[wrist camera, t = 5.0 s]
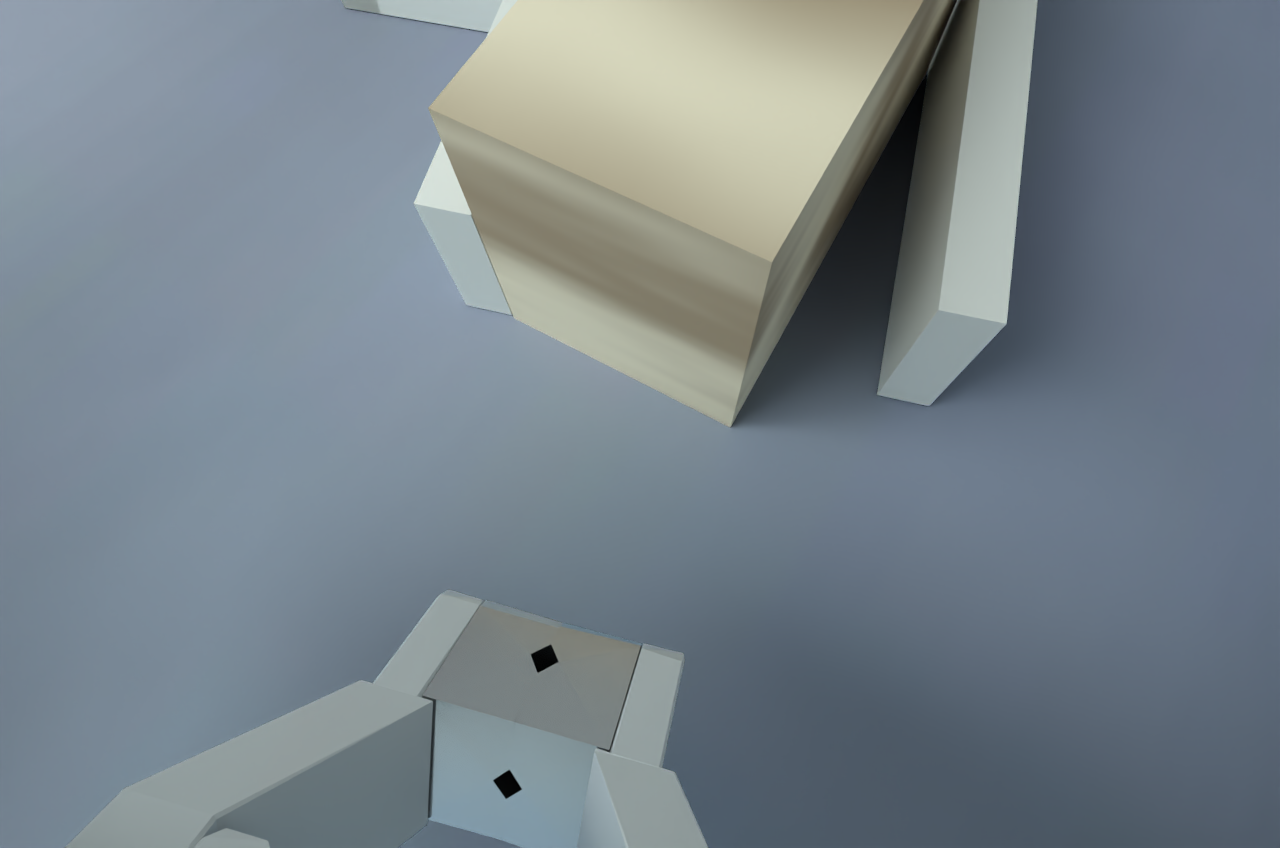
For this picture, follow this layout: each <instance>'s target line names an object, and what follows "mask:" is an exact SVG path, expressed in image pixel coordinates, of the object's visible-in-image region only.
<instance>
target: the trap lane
mask: <svg viewBox="0 0 1280 848" xmlns="http://www.w3.org/2000/svg"><path fill="white" fill-rule="evenodd" d="M516 2H517V0H342V3H343V5H344V7H345V8H349V9H355V10H361V11H367V12H373V13H378V14H384V15H390V16H396V17H402V18H408V19H414V20H420V21H425V22H431V23H437V24H443V25H449V26H455V27H461V28H466V29H472V30H478V31H484V32H489V33H488V35H489V34H490V33H491V32H492V31H493V29H494V28H495V27H496V26H497V25H498V23H499V22H500V21H501V20H502V19H503V17H504V16H505V15H506V14H507V12H508V11H509V10H510V9H511V8H512V6H513V5H514V4H515V3H516ZM1037 2H1038V0H957V2H956V4H955V6H954V9H953V11H952V14H951V16H950V18H949V21H948V23H947V25H946V28H945V30H944V32H943V35H942V37H941V39H940V42H939V44H938V47H937V49H936V51H935V54H934V56H933V58H932V61H931V63H930V65H929V69H928V76H927V82H926V88H925V95H924V101H923V107H922V114H921V120H920V126H919V133H918V139H917V145H916V151H915V158H914V164H913V170H912V177H911V183H910V189H909V196H908V202H907V208H906V215H905V221H904V227H903V233H902V240H901V246H900V252H899V259H898V265H897V271H896V278H895V284H894V290H893V296H892V303H891V309H890V315H889V322H888V328H887V334H886V341H885V347H884V353H883V360H882V366H881V372H880V378H879V385H878V391H877V395H880V396H884V397H889V398H893V399H898V400H902V401H907V402H912V403H916V404H921V405H925V406H930V405H931V404H932V403H933V402H934V401H935V399H936V398H937V397H938V396H939V395H940V394H941V393H942V392H943V391H944V390H945V389H946V388H947V387H948V386H949V385H950V384H951V382H952V381H953V380H954V379H955V378H956V377H957V376H958V375H959V374H960V373H961V372H962V371H963V370H964V369H965V368H966V367H967V365H968V364H969V363H970V362H971V361H972V360H973V359H974V358H975V357H976V356H977V355H978V354H979V353H980V352H981V351H982V350H983V348H984V347H985V346H986V345H987V344H988V343H989V342H990V341H991V340H992V339H993V338H994V337H995V336H996V335H997V334H998V333H999V331H1000V330H1001V329H1002V328H1003V327H1004V326H1005V325H1006V324H1007V315H1008V305H1009V294H1010V284H1011V273H1012V263H1013V253H1014V242H1015V232H1016V221H1017V211H1018V200H1019V190H1020V179H1021V169H1022V159H1023V148H1024V138H1025V127H1026V117H1027V106H1028V96H1029V86H1030V75H1031V65H1032V54H1033V44H1034V33H1035V23H1036V12H1037ZM488 35H487V37H488ZM487 37H486V38H487ZM414 205H415V207H416V209H417V211H418V213H419V215H420V217H421V219H422V221H423V223H424V224H425V226H426V228H427V230H428V232H429V234H430V236H431V238H432V240H433V242H434V244H435V246H436V248H437V249H438V251H439V253H440V255H441V257H442V259H443V261H444V263H445V265H446V267H447V269H448V271H449V273H450V274H451V276H452V278H453V280H454V282H455V284H456V286H457V288H458V290H459V292H460V294H461V296H462V298H463V300H464V301H465V303H466V305H468V306H472V307H477V308H481V309H486V310H491V311H495V312H500V313H504V314H509V315H512V312H511V309H510V307H509V304H508V302H507V299H506V297H505V294H504V292H503V290H502V287H501V285H500V282H499V280H498V277H497V275H496V272H495V270H494V268H493V265H492V263H491V260H490V258H489V255H488V253H487V250H486V248H485V246H484V243H483V241H482V238H481V236H480V233H479V231H478V228H477V226H476V224H475V221H474V219H473V216H472V214H471V211H470V209H469V206H468V204H467V202H466V199H465V197H464V194H463V192H462V189H461V187H460V184H459V182H458V180H457V177H456V175H455V172H454V170H453V167H452V165H451V162H450V160H449V158H448V155H447V153H446V150H445V148H444V145H443V143H442V140H441V142H440V145H439V147H438V149H437V152H436V154H435V156H434V158H433V161H432V163H431V165H430V168H429V170H428V172H427V174H426V177H425V179H424V181H423V184H422V186H421V188H420V190H419V193H418V195H417V197H416V200H415V202H414Z"/></svg>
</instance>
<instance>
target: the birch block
mask: <svg viewBox="0 0 1280 848" xmlns="http://www.w3.org/2000/svg"><path fill="white" fill-rule="evenodd" d="M956 2H957V0H517V2H516V3H515V4H514V5H513V6H512V8H511V9H510V10H509V11H508V12H507V14H506V15H505V16H504V17H503V19H502V20H501V21H500V22H499V23H498V25H497V26H496V27H495V28H494V29H493V31H492V32H491V33H490V34H489V35H488V37H487V38H486V39H485V40H484V41H483V43H482V44H481V45H480V46H479V48H478V49H477V50H476V51H475V52H474V54H473V55H472V56H471V57H470V58H469V60H468V61H467V62H466V63H465V64H464V66H463V67H462V68H461V69H460V70H459V72H458V73H457V74H456V75H455V76H454V78H453V79H452V80H451V81H450V83H449V84H448V85H447V86H446V87H445V89H444V90H443V91H442V92H441V93H440V95H439V96H438V97H437V98H436V99H435V101H434V102H433V103H432V104H431V105H430V107H429V108H428V109H429V111H430V114H431V116H432V118H433V121H434V123H435V126H436V128H437V131H438V133H439V136H440V138H441V140H442V143H443V145H444V148H445V150H446V153H447V155H448V158H449V160H450V162H451V165H452V167H453V170H454V172H455V175H456V177H457V180H458V182H459V184H460V187H461V189H462V192H463V194H464V197H465V199H466V202H467V204H468V206H469V209H470V211H471V214H472V216H473V219H474V221H475V224H476V226H477V228H478V231H479V233H480V236H481V238H482V241H483V243H484V246H485V248H486V250H487V253H488V255H489V258H490V260H491V263H492V265H493V268H494V270H495V272H496V275H497V277H498V280H499V282H500V285H501V287H502V290H503V292H504V294H505V297H506V299H507V302H508V304H509V307H510V309H511V312H512V314H513V316H514V318H515V319H517V320H519V321H521V322H523V323H525V324H527V325H528V326H530V327H532V328H534V329H536V330H538V331H540V332H542V333H544V334H546V335H548V336H550V337H552V338H554V339H556V340H558V341H560V342H562V343H564V344H566V345H568V346H570V347H572V348H574V349H576V350H578V351H580V352H582V353H584V354H586V355H588V356H590V357H592V358H594V359H596V360H598V361H600V362H602V363H604V364H606V365H608V366H610V367H612V368H614V369H615V370H617V371H619V372H621V373H623V374H625V375H627V376H629V377H631V378H633V379H635V380H637V381H639V382H641V383H643V384H645V385H647V386H649V387H651V388H653V389H655V390H657V391H659V392H661V393H663V394H665V395H667V396H669V397H671V398H673V399H675V400H677V401H679V402H681V403H683V404H685V405H687V406H689V407H691V408H693V409H695V410H697V411H699V412H701V413H703V414H704V415H706V416H708V417H710V418H712V419H714V420H716V421H718V422H720V423H722V424H724V425H726V426H728V427H730V428H731V426H732V424H733V422H734V420H735V419H736V417H737V415H738V413H739V411H740V410H741V408H742V406H743V404H744V402H745V400H746V399H747V397H748V395H749V393H750V391H751V390H752V388H753V386H754V384H755V382H756V381H757V379H758V377H759V375H760V373H761V372H762V370H763V368H764V366H765V364H766V362H767V361H768V359H769V357H770V355H771V353H772V352H773V350H774V348H775V346H776V344H777V343H778V341H779V339H780V337H781V335H782V334H783V332H784V330H785V328H786V326H787V324H788V323H789V321H790V319H791V317H792V315H793V314H794V312H795V310H796V308H797V306H798V305H799V303H800V301H801V299H802V297H803V295H804V294H805V292H806V290H807V288H808V286H809V285H810V283H811V281H812V279H813V277H814V276H815V274H816V272H817V270H818V268H819V267H820V265H821V263H822V261H823V259H824V257H825V256H826V254H827V252H828V250H829V248H830V247H831V245H832V243H833V241H834V239H835V238H836V236H837V234H838V232H839V230H840V229H841V227H842V225H843V223H844V221H845V219H846V218H847V216H848V214H849V212H850V210H851V209H852V207H853V205H854V203H855V201H856V200H857V198H858V196H859V194H860V192H861V191H862V189H863V187H864V185H865V183H866V181H867V180H868V178H869V176H870V174H871V172H872V171H873V169H874V167H875V165H876V163H877V162H878V160H879V158H880V156H881V154H882V153H883V151H884V149H885V147H886V145H887V143H888V142H889V140H890V138H891V136H892V134H893V133H894V131H895V129H896V127H897V125H898V124H899V122H900V120H901V118H902V116H903V115H904V113H905V111H906V109H907V107H908V105H909V104H910V102H911V100H912V98H913V96H914V95H915V93H916V91H917V89H918V87H919V86H920V84H921V82H922V80H923V78H924V77H925V75H926V72H927V70H928V68H929V65H930V63H931V61H932V58H933V56H934V54H935V51H936V49H937V47H938V44H939V42H940V39H941V37H942V35H943V32H944V30H945V28H946V25H947V23H948V21H949V18H950V16H951V14H952V11H953V9H954V6H955V4H956Z"/></svg>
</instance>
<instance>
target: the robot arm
mask: <svg viewBox="0 0 1280 848" xmlns="http://www.w3.org/2000/svg"><path fill="white" fill-rule="evenodd" d="M642 645H643V646H642ZM684 662H685V658H684V653H681V652H677V651H673V650H669V649H665V648H661V647H657V646H653V645H649V644H645V643H644V644H643V643H639V642H635V641H631V640H628V639H624V638H620V637H616V636H612V635H609V634H605V633H601V632H597V631H594V630H590V629H586V628H582V627H578V626H575V625H571V624H567V623H562V622H559V621H556V620H552V619H549V618H546V617H542V616H539V615H536V614H532V613H529V612H526V611H522V610H519V609H516V608H512V607H509V606H506V605H502V604H499V603H496V602H492V601H489V600H487V601H485V600H482V599H479V598H475V597H472V596H469V595H466V594H462V593H459V592H456V591H453V590H449V589H448V590H447V591H445V592H443V593H442V594H440V595H439V596H438V597H437V598H436V599H435V601H434V602H433V603H432V605H431V606H430V607H429V609H428V610H427V611H426V613H425V614H424V615H423V617H422V618H421V619H420V621H419V622H418V623H417V625H416V626H415V627H414V629H413V630H412V631H411V633H410V634H409V635H408V637H407V638H406V639H405V641H404V642H403V643H402V645H401V646H400V647H399V649H398V650H397V651H396V653H395V654H394V655H393V657H392V658H391V659H390V661H389V662H388V663H387V665H386V666H385V667H384V669H383V670H382V671H381V673H380V674H379V675H378V677H377V678H376V679H375V681H374V682H373V683H370V682H366V681H363V680H359V681H357V682H355V683H353V684H350V685H348V686H346V687H344V688H342V689H340V690H337V691H335V692H333V693H331V694H329V695H326V696H324V697H322V698H320V699H318V700H316V701H313V702H311V703H309V704H307V705H305V706H302V707H300V708H298V709H296V710H294V711H292V712H289V713H287V714H285V715H283V716H281V717H278V718H276V719H274V720H272V721H270V722H268V723H265V724H263V725H261V726H259V727H257V728H254V729H252V730H250V731H248V732H246V733H244V734H241V735H239V736H237V737H235V738H233V739H231V740H228V741H226V742H224V743H222V744H220V745H217V746H215V747H213V748H211V749H209V750H207V751H204V752H202V753H200V754H198V755H196V756H193V757H191V758H189V759H187V760H185V761H183V762H180V763H178V764H176V765H174V766H172V767H169V768H167V769H165V770H163V771H161V772H159V773H156V774H154V775H152V776H150V777H148V778H145V779H143V780H141V781H139V782H137V783H135V784H132V785H130V786H128V787H126V788H124V789H123V790H122V791H121V792H120V793H119V794H118V795H117V796H116V797H115V798H114V799H113V800H112V801H111V802H110V803H109V804H108V805H107V806H106V807H105V808H104V809H103V810H102V811H101V812H100V813H99V814H98V815H97V816H96V817H95V818H94V819H93V820H92V821H91V822H90V823H89V824H88V825H87V826H86V827H85V828H84V829H83V830H82V831H81V832H80V833H79V834H78V835H77V836H76V837H75V838H74V839H73V840H72V841H71V842H70V843H69V844H68V845H67V846H66V847H65V848H398V847H399V846H401V845H402V844H403V843H405V842H406V841H407V840H408V839H410V838H411V837H412V836H414V835H415V834H416V833H417V832H419V831H420V830H421V829H423V828H424V827H425V826H427V822H428V820H431V821H435V822H438V823H442V824H445V825H449V826H452V827H456V828H460V829H463V830H467V831H470V832H474V833H477V834H481V835H485V836H488V837H492V838H495V839H499V840H502V841H505V842H508V843H511V844H514V845H516V846H519V847H522V848H709V847H708V845H707V843H706V841H705V838H704V836H703V834H702V831H701V829H700V827H699V825H698V822H697V820H696V818H695V816H694V813H693V811H692V809H691V807H690V804H689V802H688V800H687V797H686V795H685V793H684V791H683V788H682V786H681V784H680V782H679V779H678V777H677V775H676V772H673V771H670V770H667V769H664V768H662V766H663V761H664V756H665V752H666V747H667V742H668V737H669V733H670V728H671V723H672V719H673V714H674V709H675V704H676V700H677V695H678V690H679V685H680V681H681V676H682V671H683V666H684Z"/></svg>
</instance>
